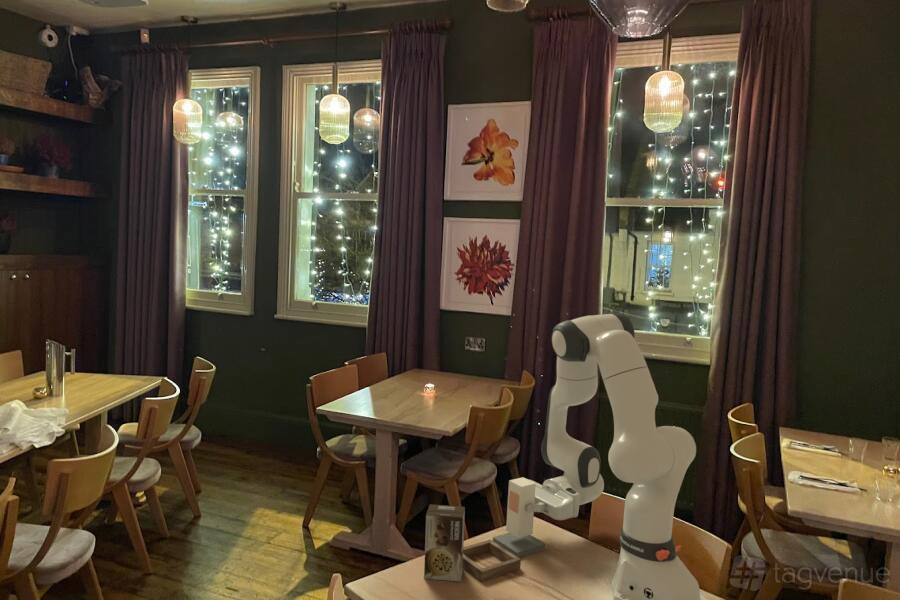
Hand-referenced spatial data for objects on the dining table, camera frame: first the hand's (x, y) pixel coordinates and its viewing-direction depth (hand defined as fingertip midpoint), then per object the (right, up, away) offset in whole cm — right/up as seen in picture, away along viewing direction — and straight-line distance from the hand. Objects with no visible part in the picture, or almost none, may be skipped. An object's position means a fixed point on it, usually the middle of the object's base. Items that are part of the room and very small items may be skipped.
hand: (518, 504), depth 174 cm
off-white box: (0, -8, +1) cm, 8 cm away
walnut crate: (-9, -12, -9) cm, 18 cm away
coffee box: (-20, -12, -15) cm, 28 cm away
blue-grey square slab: (0, -12, +2) cm, 12 cm away
